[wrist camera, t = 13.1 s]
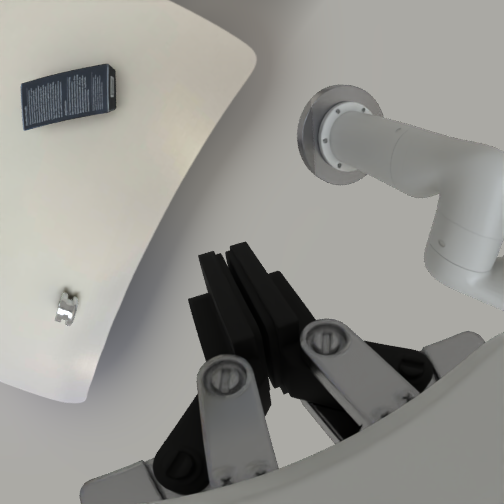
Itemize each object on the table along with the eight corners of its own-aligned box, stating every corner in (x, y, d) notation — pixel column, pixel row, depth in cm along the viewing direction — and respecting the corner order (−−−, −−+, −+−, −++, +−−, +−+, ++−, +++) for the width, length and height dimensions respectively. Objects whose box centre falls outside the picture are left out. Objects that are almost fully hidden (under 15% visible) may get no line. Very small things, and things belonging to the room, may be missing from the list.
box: (116, 110, 32) (43, 124, 28) (116, 68, 29) (41, 83, 26) (109, 113, 25) (21, 132, 22) (108, 62, 22) (19, 83, 19)
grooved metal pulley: (65, 285, 41) (60, 305, 37) (80, 292, 43) (77, 312, 39) (57, 306, 42) (53, 326, 38) (72, 312, 44) (69, 332, 40)
